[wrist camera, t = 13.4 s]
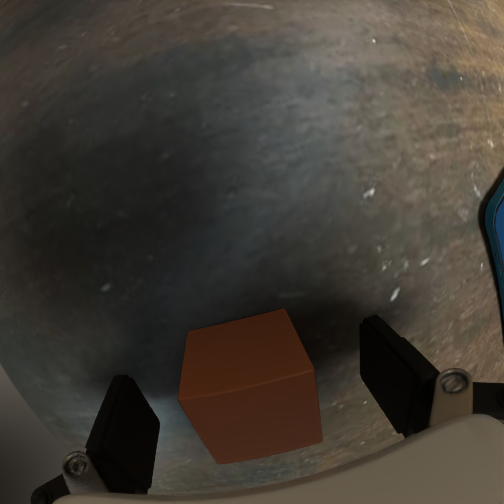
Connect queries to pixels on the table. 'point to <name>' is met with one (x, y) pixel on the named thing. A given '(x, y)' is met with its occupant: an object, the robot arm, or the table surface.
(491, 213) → the smartphone
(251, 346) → the block
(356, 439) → the table surface
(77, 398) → the table surface
